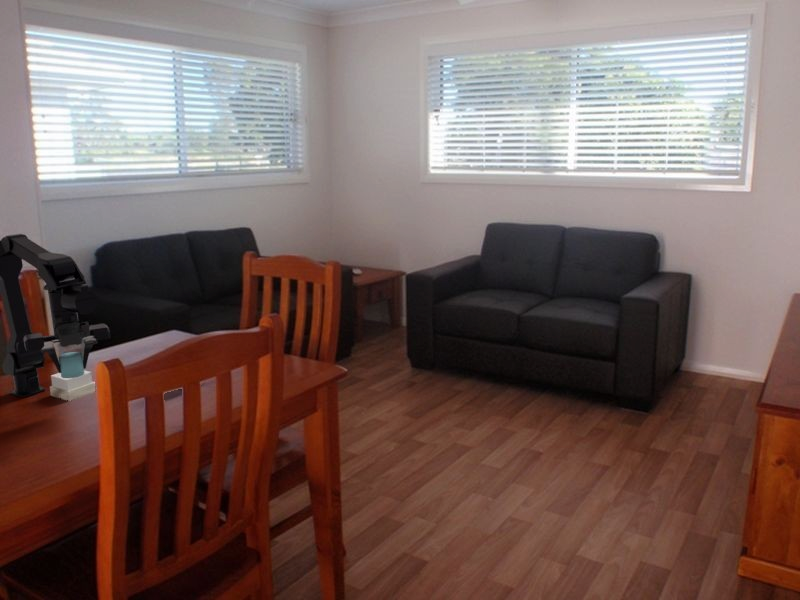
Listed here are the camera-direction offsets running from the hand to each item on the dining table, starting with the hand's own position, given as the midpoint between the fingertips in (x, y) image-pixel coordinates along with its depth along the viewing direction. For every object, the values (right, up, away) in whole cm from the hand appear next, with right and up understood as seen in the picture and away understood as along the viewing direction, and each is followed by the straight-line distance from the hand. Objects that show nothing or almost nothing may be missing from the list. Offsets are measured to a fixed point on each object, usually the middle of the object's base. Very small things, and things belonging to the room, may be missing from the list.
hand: (72, 370), depth 174 cm
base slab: (-6, -8, +14) cm, 17 cm away
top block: (-6, -5, +13) cm, 15 cm away
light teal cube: (0, -1, 0) cm, 1 cm away
